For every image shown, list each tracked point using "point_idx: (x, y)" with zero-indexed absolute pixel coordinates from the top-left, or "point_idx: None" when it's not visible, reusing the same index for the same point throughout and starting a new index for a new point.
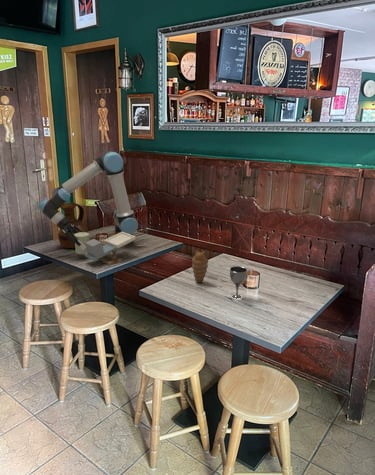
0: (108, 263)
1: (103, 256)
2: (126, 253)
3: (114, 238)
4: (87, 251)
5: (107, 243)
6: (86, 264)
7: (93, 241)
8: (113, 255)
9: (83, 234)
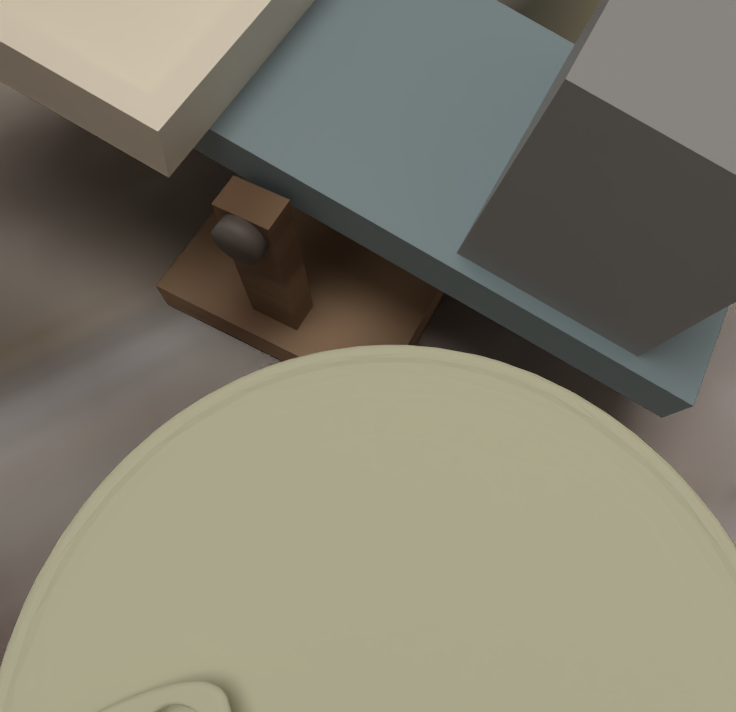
0: None
1: (333, 290)
2: (53, 146)
3: (10, 4)
4: (662, 338)
5: (227, 97)
6: (647, 416)
7: (710, 23)
8: None
9: (362, 608)
